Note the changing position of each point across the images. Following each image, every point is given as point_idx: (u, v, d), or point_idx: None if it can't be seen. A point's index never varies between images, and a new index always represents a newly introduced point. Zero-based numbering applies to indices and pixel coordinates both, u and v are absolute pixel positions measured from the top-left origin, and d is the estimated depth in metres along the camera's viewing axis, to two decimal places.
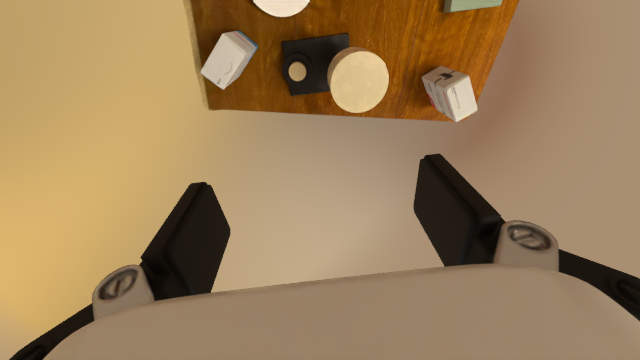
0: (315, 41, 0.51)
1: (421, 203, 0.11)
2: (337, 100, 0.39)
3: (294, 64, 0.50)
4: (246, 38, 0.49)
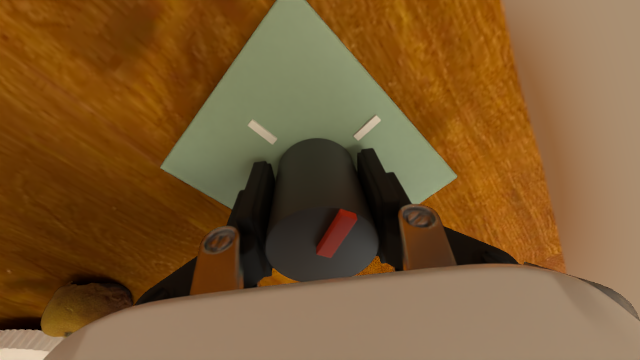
0: None
1: None
2: None
3: None
4: None
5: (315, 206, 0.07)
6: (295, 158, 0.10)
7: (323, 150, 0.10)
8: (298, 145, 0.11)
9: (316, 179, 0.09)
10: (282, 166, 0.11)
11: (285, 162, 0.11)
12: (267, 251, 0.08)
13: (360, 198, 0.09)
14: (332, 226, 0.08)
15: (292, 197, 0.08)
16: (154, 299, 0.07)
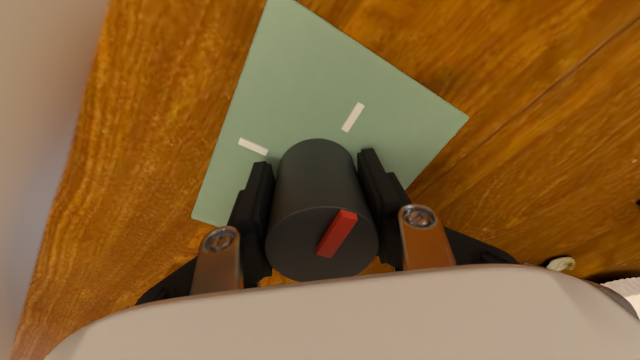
0: None
1: None
2: None
3: None
4: None
5: (315, 206, 0.07)
6: (296, 158, 0.10)
7: (323, 150, 0.10)
8: (298, 145, 0.11)
9: (317, 179, 0.09)
10: (282, 166, 0.11)
11: (285, 162, 0.11)
12: (267, 251, 0.08)
13: (360, 198, 0.09)
14: (332, 226, 0.08)
15: (293, 198, 0.08)
16: (154, 299, 0.07)
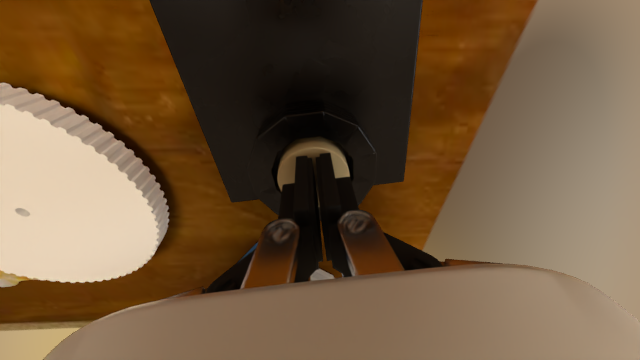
0: (198, 85, 0.11)
1: None
2: None
3: None
4: None
5: None
6: None
7: None
8: None
9: None
10: None
11: None
12: None
13: None
14: None
15: None
16: (224, 289, 0.07)
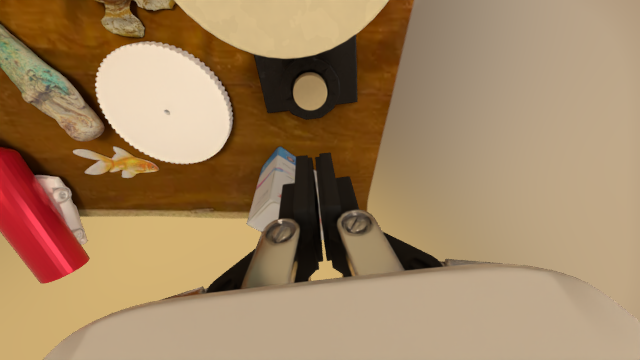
0: None
1: None
2: (354, 18, 0.08)
3: (296, 99, 0.26)
4: (267, 165, 0.33)
5: None
6: None
7: None
8: None
9: None
10: None
11: None
12: None
13: None
14: None
15: None
16: (224, 289, 0.07)
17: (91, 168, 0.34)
